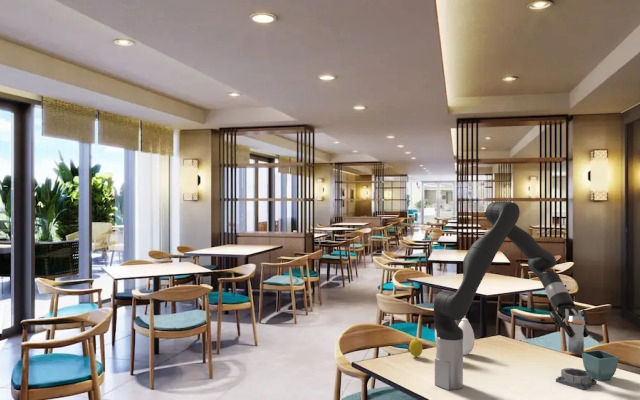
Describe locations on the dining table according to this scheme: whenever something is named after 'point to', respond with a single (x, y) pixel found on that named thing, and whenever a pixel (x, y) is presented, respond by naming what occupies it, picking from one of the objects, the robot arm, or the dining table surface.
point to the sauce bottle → (467, 336)
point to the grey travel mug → (576, 334)
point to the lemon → (415, 347)
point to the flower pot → (600, 364)
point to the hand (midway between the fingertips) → (579, 336)
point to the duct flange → (576, 378)
